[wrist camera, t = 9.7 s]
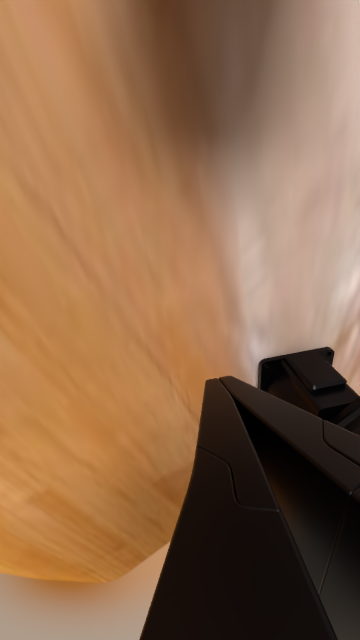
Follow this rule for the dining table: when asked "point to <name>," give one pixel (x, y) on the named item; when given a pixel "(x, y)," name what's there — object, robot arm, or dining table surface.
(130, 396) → the dining table surface
